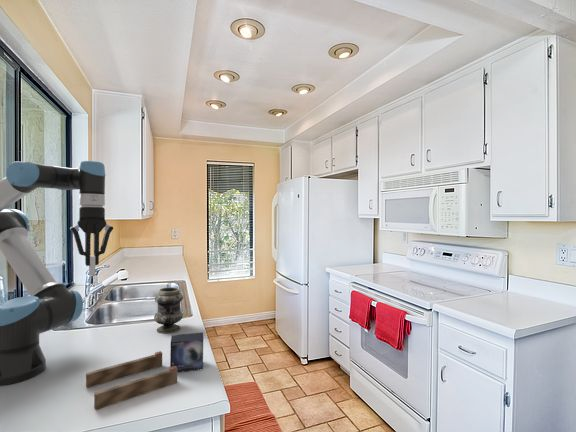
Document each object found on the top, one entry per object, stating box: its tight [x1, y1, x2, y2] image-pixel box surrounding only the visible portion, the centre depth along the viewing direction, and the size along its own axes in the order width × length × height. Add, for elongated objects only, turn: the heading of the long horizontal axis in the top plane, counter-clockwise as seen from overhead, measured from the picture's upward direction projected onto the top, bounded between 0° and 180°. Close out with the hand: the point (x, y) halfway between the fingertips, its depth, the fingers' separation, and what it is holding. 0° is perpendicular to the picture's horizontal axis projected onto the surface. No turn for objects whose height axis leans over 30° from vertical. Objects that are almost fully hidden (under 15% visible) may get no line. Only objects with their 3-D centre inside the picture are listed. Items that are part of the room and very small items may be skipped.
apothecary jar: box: [153, 286, 184, 334], centre depth 144 cm, size 12×12×18 cm
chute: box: [85, 350, 178, 411], centre depth 98 cm, size 22×15×5 cm
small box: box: [169, 332, 204, 373], centre depth 109 cm, size 11×6×10 cm, turn 106°
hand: (92, 274), depth 112 cm, fingers closed
